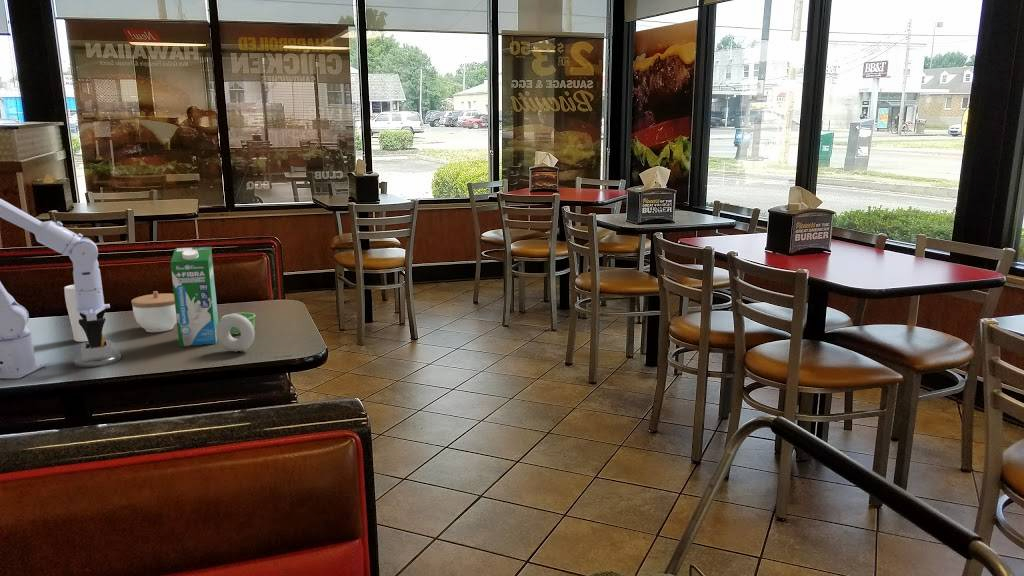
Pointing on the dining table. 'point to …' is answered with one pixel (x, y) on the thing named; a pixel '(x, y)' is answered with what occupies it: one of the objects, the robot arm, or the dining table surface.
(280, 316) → the dining table surface
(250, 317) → the ramekin
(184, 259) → the milk carton
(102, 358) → the grey square frame
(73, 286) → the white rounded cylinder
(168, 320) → the lidded bowl
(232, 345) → the donut
